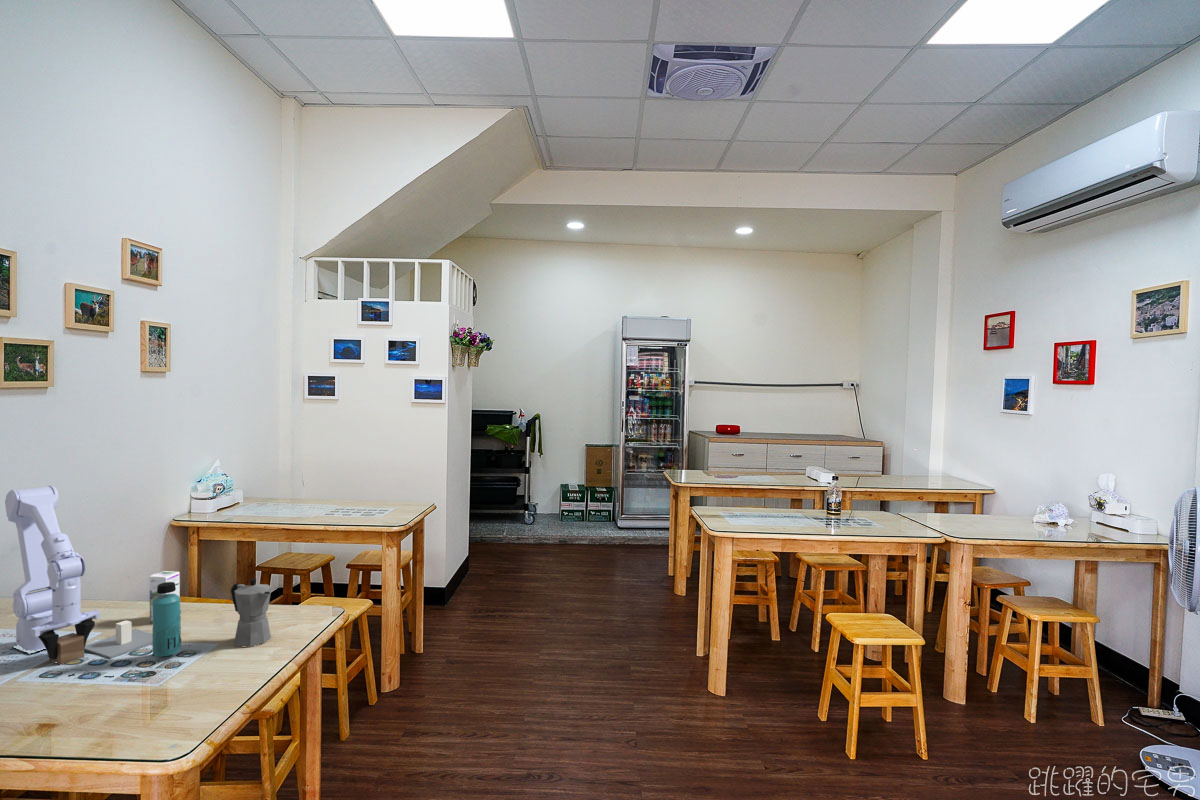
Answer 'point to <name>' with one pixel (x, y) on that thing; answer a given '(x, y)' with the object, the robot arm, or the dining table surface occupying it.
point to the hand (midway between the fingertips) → (66, 653)
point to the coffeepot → (251, 613)
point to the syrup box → (158, 579)
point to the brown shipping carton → (69, 648)
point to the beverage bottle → (166, 621)
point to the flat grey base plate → (121, 641)
